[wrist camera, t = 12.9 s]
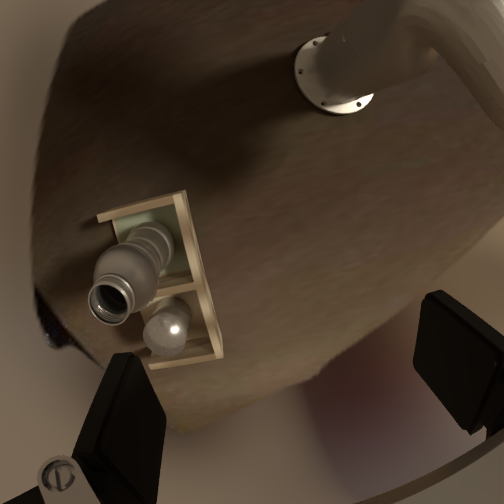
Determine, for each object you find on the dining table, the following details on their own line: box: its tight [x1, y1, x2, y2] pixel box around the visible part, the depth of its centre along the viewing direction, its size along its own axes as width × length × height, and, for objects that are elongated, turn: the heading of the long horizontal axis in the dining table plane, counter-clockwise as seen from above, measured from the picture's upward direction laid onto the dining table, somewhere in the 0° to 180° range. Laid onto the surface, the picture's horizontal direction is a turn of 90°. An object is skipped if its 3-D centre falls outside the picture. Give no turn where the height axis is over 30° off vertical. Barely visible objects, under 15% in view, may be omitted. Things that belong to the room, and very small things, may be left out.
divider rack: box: [97, 190, 223, 370], centre depth 40 cm, size 23×11×6 cm, turn 11°
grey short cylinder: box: [143, 297, 192, 356], centre depth 40 cm, size 6×6×7 cm
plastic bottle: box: [88, 222, 175, 326], centre depth 31 cm, size 6×7×20 cm
